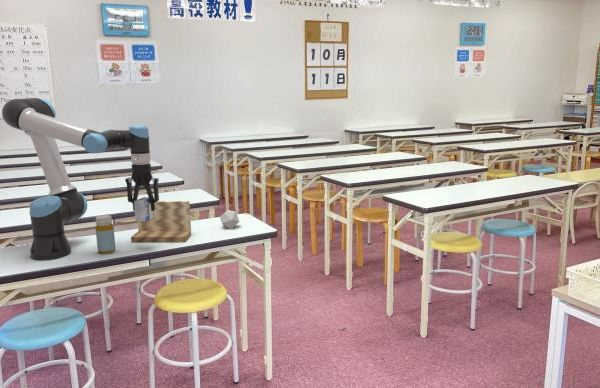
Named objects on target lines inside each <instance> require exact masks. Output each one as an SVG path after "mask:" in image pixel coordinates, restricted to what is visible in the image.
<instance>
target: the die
mask: <svg viewBox="0 0 600 388" xmlns="http://www.w3.org/2000/svg"><path fill="white" fill-rule="evenodd" d="M219 219H220V223H221V224H222V226H223V227H224V228H225V229H230V230H232V229H233V228H235V226H236V225H238V224H239V223H240V219H239V216H238V214H237V212H236V211H235V210H229V209H227V210H226V211H225V212H224V213H222V214H221V216H220V217H219Z"/></svg>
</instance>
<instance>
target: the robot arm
mask: <svg viewBox="0 0 600 388" xmlns="http://www.w3.org/2000/svg"><path fill="white" fill-rule="evenodd" d="M1 115H2V119H3V121H4V122H5V123H6V124H7V125H8V126H9V127H11V128H14V129H17V130H20V131H24V134H25V135H28V136H29V137H30V138H31V142H32V144H33V147H34V149H35V151H36V155H37V158H38V161H39V163H40V166H41V169H42V171H43V175H44V177H45V180H46V183H47V185H48V188H49V192H48V195H45V196H42V197H37V198H36V199H34V200H32V201H31V202H30V203H29V216H30V221H31V222H30V223H31V224H30V225H31V231H32V238H33V239H32V241H31V242H32V243H31V248H30V250H29V251H30V252H29V253H30V258H31V259H32V260H37V261H49V260H55V259H60V258H63V257H66V256H68V255H69V254H71V253H72V247H71V244H70V242H69V240H68V238H67V236H66V234H65V225H66V224H68V223H71V222H74V221H76V220H79V219H80V218H82V217H84V215H85V213H87V209H88V201H87V198H86V197H85V195H84V194H82V192H78V188H77V186H74V185H73V184H71V181H70V178H69V175H68V172H67V170H66V167H65V166H66V165H65V163H64V161H63V157H62V156H61V152H60V150H59V147H58V143H57V141H56V140H59V141H62V142H65V143H69V144H72V145H75V146H77V147H81V148H84V150H86V152H88V153H89V154H100V153H104V152H108V151H113V150H117V149H120V150H121V149H123V150H125V149H128V150H129V149H130V161H131V177H127V178H125V179H124V180H125V183H126V193H127V194H126V196H127V202H128V203H131V204H132V210H133V212H135V208H134V201H136V200H138V197H139V194H140V187H144V188H145V190H146V193H147V197H149V200H150V203H149V218H150V219H152V218H153V211H154V210H155V202H157V201H160V193H159V181H160V178H159V177H154V176H153V173H152V168H151V167H152V164H151V163H150V162H151V161H152V160H151V152H150V151H151V150H150V135H149V127H148V126H147V125H143V124H139V125H135V124H134V125H129V127H128V129H127V130H124V129H122V130H121V129H106V130H103V131H102V132H100V131H96V130H93V129H90V128H87V127H84V126H81V125H77V124H75V123H71V122H68V121H65V120H62V119H59V118H57V117H56V116H57V115H56V110H55V108H54V106H53V104H52V103H50V101H48V100H46V99H44V98H40V97H39V98H38V97H31V98H30V97H29V98H13V99H10V100H8V101H7V102H5V104H4V105H3V107H2V109H1ZM151 181H152V185H153V191H152V188H151V183H150V182H151ZM132 183H134V190H133V184H132Z"/></svg>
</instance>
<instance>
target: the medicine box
mask: <svg viewBox="0 0 600 388" xmlns="http://www.w3.org/2000/svg"><path fill="white" fill-rule="evenodd" d="M149 203H150V200H149V197H148V196H143V197H141V198H139V199H137V200H136V201H134V208H135V211H134V219H135V221H136V222H138V221H147V220H149V219H150V218H149ZM153 217H154V214H153Z"/></svg>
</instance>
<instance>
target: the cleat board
mask: <svg viewBox="0 0 600 388" xmlns="http://www.w3.org/2000/svg"><path fill="white" fill-rule="evenodd" d="M153 214H154V217H153V218H152V219H149V220H147V221H137V228H138V229H137V230H138V231H137V232H135V233H134V234H133V235H131V237H130V241H131V243H133V244H137V243H138V244H139V243H142V244H143V243H146V244H148V243H186V242H187V241H188V240H189V238H190V237H191V236H192V223H191V222H192V221H191V207H190V201H189V200H178V201H177V200H173V201H172V200H166V201H165V200H164V201H163V200H161V201H160V200H159V201H157V202H155V210H154V211H153Z"/></svg>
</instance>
